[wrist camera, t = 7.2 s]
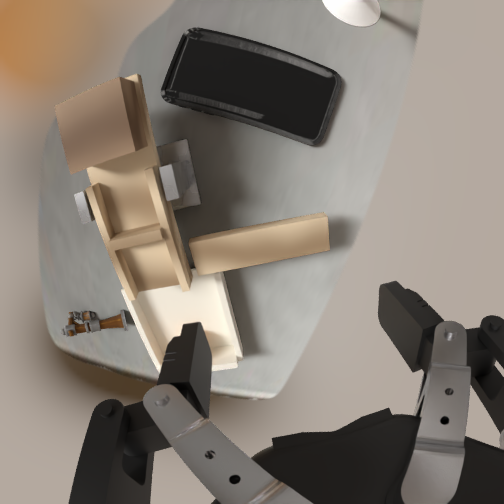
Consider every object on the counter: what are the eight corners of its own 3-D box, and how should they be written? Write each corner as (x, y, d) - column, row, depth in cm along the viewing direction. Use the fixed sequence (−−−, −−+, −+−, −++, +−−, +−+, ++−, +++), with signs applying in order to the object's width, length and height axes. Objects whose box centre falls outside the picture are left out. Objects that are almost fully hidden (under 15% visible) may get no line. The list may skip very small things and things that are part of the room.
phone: (186, 25, 19) (344, 74, 21) (188, 29, 20) (340, 77, 22) (157, 101, 22) (319, 150, 24) (160, 102, 23) (315, 149, 25)
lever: (76, 100, 17) (50, 101, 13) (300, 45, 17) (315, 31, 13) (135, 286, 24) (123, 314, 21) (326, 250, 24) (342, 274, 21)
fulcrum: (99, 165, 24) (64, 173, 18) (187, 139, 24) (172, 137, 17) (114, 223, 26) (85, 247, 20) (201, 202, 26) (191, 221, 20)
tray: (128, 278, 28) (117, 295, 25) (220, 261, 28) (219, 277, 25) (161, 356, 32) (156, 376, 29) (242, 345, 32) (243, 366, 29)
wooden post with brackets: (61, 308, 28) (57, 329, 24) (121, 298, 32) (125, 318, 28) (65, 321, 29) (62, 343, 25) (124, 311, 32) (128, 331, 28)
